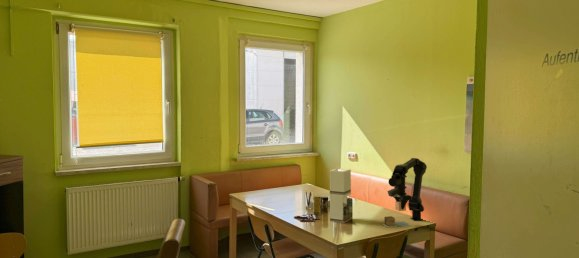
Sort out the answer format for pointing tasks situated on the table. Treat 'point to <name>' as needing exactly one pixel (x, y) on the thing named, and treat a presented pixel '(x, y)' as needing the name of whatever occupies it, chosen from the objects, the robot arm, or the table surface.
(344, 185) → the cream tall block
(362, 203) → the table surface
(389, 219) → the walnut cube
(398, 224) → the plan board
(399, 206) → the terracotta cube
